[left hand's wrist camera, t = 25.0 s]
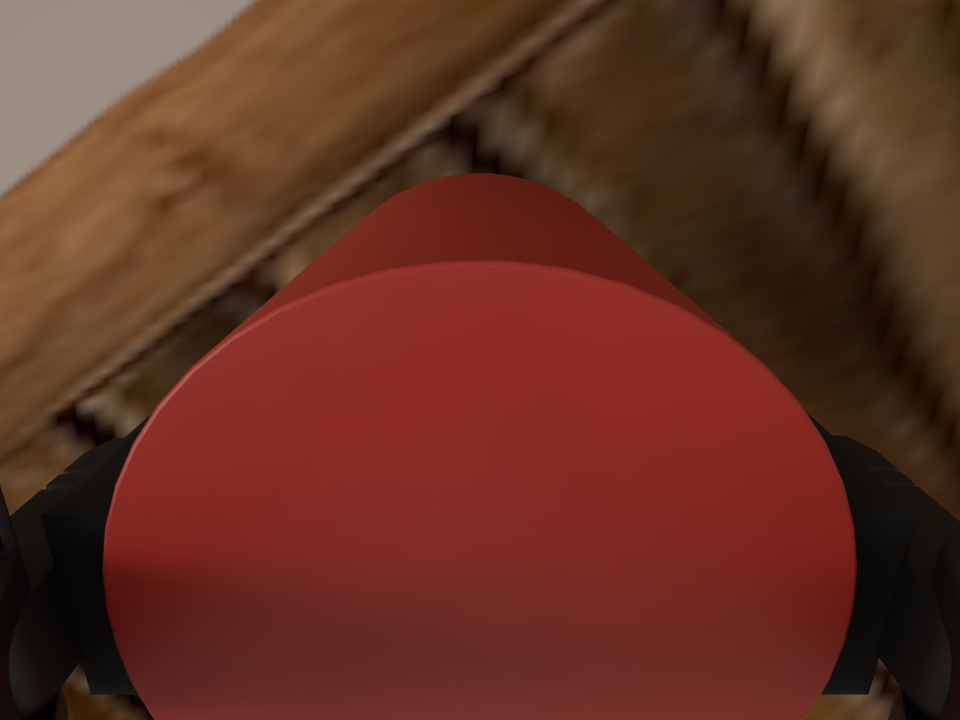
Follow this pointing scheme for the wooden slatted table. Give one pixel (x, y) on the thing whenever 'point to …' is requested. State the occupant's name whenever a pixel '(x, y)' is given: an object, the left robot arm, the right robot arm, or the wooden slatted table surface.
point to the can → (479, 492)
